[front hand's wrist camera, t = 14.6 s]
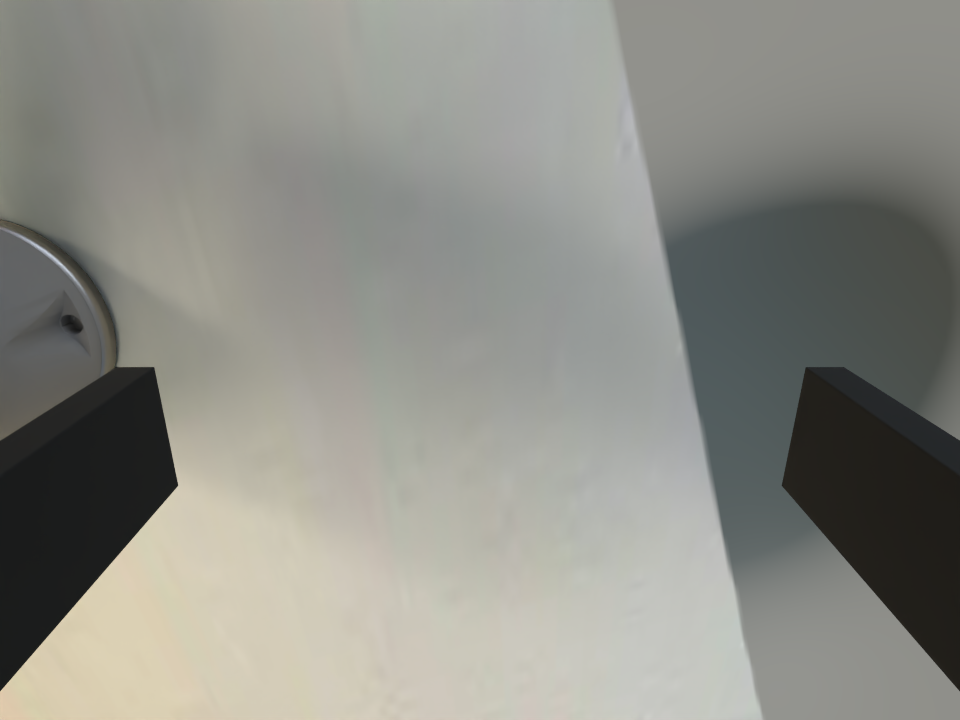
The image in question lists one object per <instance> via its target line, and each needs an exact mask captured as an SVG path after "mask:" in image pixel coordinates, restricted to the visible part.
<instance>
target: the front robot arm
mask: <svg viewBox="0 0 960 720" xmlns="http://www.w3.org/2000/svg"><path fill="white" fill-rule="evenodd" d="M115 362H116V339H115V332H114V327H113V323H112V320H111V317H110V314H109V311H108V309H107V307H106V304H105V302H104V300H103V298H102V296H101V295H100V293H99V291H98V290H97V288H96V286H95V285H94V283H93V282H92V281H91V279H90V278H89V277H88V275H87V274H86V273H85V272H84V271H83V269H82V268H81V267H80V266H79V265H78V264H77V263H76V262H75V261H74V260H73V259H72V258H71V257H70V256H69V255H67V254H66V253H65V252H64V251H63V250H61V249H60V248H59V247H58V246H56V245H55V244H53V243H52V242H50V241H49V240H47V239H46V238H44V237H42V236H40V235H39V234H37V233H35V232H33V231H31V230H29V229H27V228H25V227H22V226H19V225H17V224H14V223H11V222H8V221H4V220H0V691H1V690H2V689H3V687H4V686H5V685H6V684H7V683H8V682H9V680H10V679H11V678H12V677H13V676H14V675H15V674H16V672H17V671H18V670H19V669H20V668H21V667H22V665H23V664H24V663H25V662H26V661H27V660H28V659H29V657H30V656H31V655H32V654H33V653H34V652H35V650H36V649H37V648H38V647H39V646H40V645H41V644H42V642H43V641H44V640H45V639H46V638H47V637H48V635H49V634H50V633H51V632H52V631H53V630H54V628H55V627H56V626H57V625H58V624H59V623H60V622H61V620H62V619H63V618H64V617H65V616H66V615H67V613H68V612H69V611H70V610H71V609H72V608H73V607H74V605H75V604H76V603H77V602H78V601H79V600H80V598H81V597H82V596H83V595H84V594H85V593H86V592H87V590H88V589H89V588H90V587H91V586H92V585H93V583H94V582H95V581H96V580H97V579H98V578H99V576H100V575H101V574H102V573H103V572H104V571H105V570H106V568H107V567H108V566H109V565H110V564H111V563H112V561H113V560H114V559H115V558H116V557H117V556H118V555H119V553H120V552H121V551H122V550H123V549H124V548H125V546H126V545H127V544H128V543H129V542H130V541H131V540H132V538H133V537H134V536H135V535H136V534H137V533H138V531H139V530H140V529H141V528H142V527H143V526H144V524H145V523H146V522H147V521H148V520H149V519H150V518H151V516H152V515H153V514H154V513H155V512H156V511H157V509H158V508H159V507H160V506H161V505H162V504H163V503H164V501H165V500H166V499H167V498H168V497H169V496H170V494H171V493H172V492H173V491H174V490H175V489H176V488H177V486H178V482H177V477H176V473H175V468H174V463H173V458H172V453H171V448H170V443H169V438H168V433H167V428H166V423H165V418H164V413H163V408H162V403H161V399H160V394H159V389H158V384H157V379H156V374H155V369H154V367H116V368H114V367H115ZM782 486H783V488H784V489H785V490H786V491H787V492H788V493H789V494H790V496H791V497H792V498H793V499H794V500H795V501H796V503H797V504H798V505H799V506H800V507H801V508H802V509H803V511H804V512H805V513H806V514H807V515H808V516H809V517H810V519H811V520H812V521H813V522H814V523H815V524H816V526H817V527H818V528H819V529H820V530H821V531H822V533H823V534H824V535H825V536H826V537H827V538H828V540H829V541H830V542H831V543H832V544H833V545H834V546H835V547H836V549H837V550H838V551H839V552H840V553H841V555H842V556H843V557H844V558H845V559H846V560H847V561H848V563H849V564H850V565H851V566H852V567H853V568H854V570H855V571H856V572H857V573H858V574H859V575H860V576H861V578H862V579H863V580H864V581H865V582H866V583H867V585H868V586H869V587H870V588H871V589H872V590H873V591H874V593H875V594H876V595H877V596H878V597H879V598H880V600H881V601H882V602H883V603H884V604H885V605H886V606H887V608H888V609H889V610H890V611H891V612H892V613H893V615H894V616H895V617H896V618H897V619H898V620H899V622H900V623H901V624H902V625H903V626H904V627H905V628H906V630H907V631H908V632H909V633H910V634H911V635H912V637H913V638H914V639H915V640H916V641H917V642H918V643H919V645H920V646H921V647H922V648H923V649H924V650H925V652H926V653H927V654H928V655H929V656H930V657H931V658H932V660H933V661H934V662H935V663H936V664H937V665H938V667H939V668H940V669H941V670H942V671H943V672H944V673H945V675H946V676H947V677H948V678H949V679H950V680H951V682H952V683H953V684H954V685H955V686H956V687H957V689H958V690H959V691H960V441H959V440H958V439H956V438H955V437H953V436H952V435H950V434H948V433H947V432H945V431H944V430H942V429H941V428H939V427H937V426H936V425H934V424H933V423H931V422H929V421H928V420H926V419H925V418H923V417H922V416H920V415H918V414H917V413H915V412H914V411H912V410H911V409H909V408H907V407H906V406H904V405H903V404H901V403H899V402H898V401H896V400H895V399H893V398H892V397H890V396H888V395H887V394H885V393H884V392H882V391H881V390H879V389H877V388H876V387H874V386H873V385H871V384H869V383H868V382H866V381H865V380H863V379H862V378H860V377H858V376H857V375H855V374H854V373H852V372H851V371H849V370H847V369H846V368H844V367H806V369H805V374H804V379H803V384H802V389H801V394H800V399H799V403H798V408H797V413H796V418H795V423H794V428H793V433H792V438H791V443H790V448H789V453H788V458H787V463H786V468H785V473H784V478H783V482H782Z"/></svg>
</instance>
